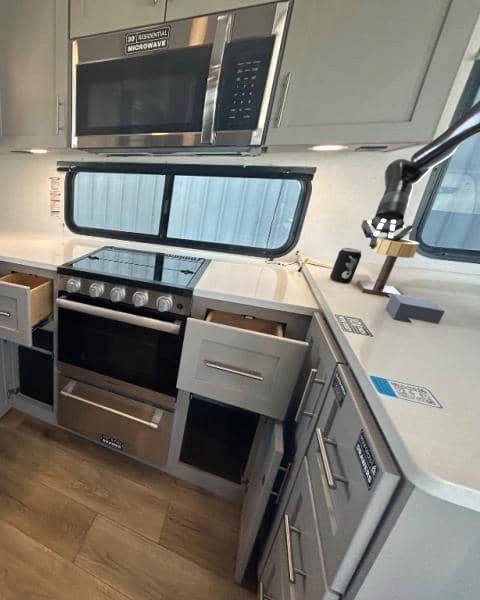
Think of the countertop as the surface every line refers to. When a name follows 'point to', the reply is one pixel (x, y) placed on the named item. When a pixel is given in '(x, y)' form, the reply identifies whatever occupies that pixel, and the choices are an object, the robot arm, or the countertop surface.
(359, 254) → the black printed box
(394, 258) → the stand
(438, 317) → the block
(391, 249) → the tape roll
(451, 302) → the countertop surface
